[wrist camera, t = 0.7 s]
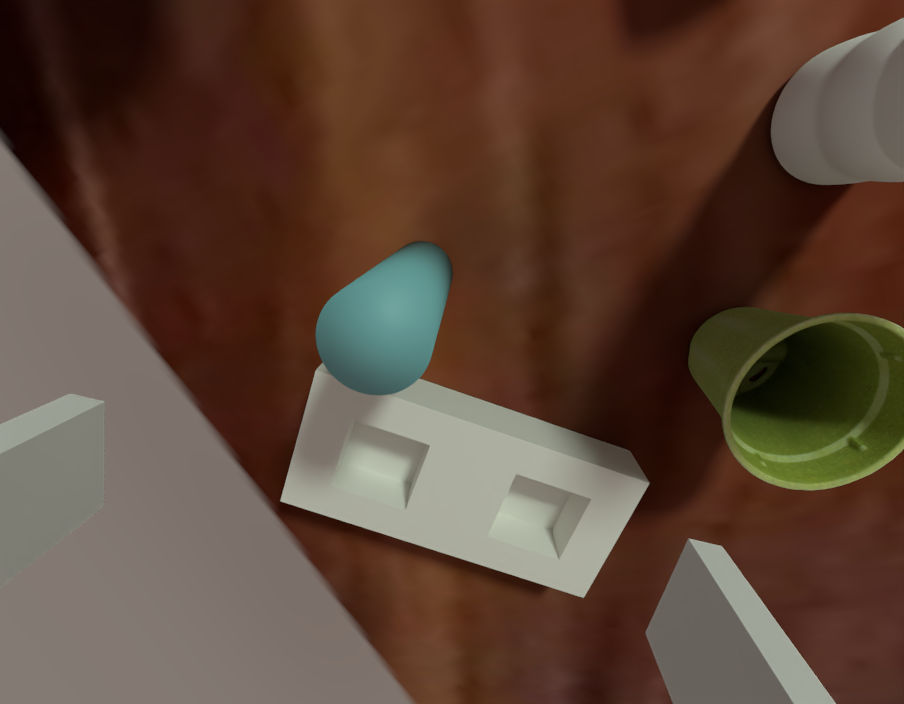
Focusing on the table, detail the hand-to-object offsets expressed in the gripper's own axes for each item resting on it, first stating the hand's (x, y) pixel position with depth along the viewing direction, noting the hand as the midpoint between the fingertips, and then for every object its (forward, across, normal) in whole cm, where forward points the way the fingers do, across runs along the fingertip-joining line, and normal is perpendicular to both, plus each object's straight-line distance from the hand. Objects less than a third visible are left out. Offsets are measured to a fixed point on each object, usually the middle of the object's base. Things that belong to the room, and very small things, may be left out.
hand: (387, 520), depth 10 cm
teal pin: (+21, -2, +2) cm, 21 cm away
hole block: (+22, +3, -10) cm, 24 cm away
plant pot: (+22, +19, +2) cm, 29 cm away
